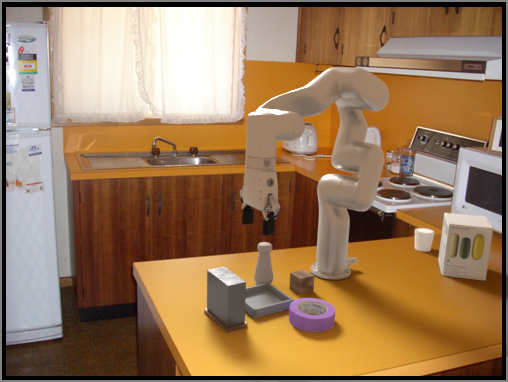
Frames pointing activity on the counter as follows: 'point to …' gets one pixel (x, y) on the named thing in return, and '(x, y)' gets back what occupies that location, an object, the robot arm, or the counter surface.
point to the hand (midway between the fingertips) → (257, 229)
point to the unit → (226, 299)
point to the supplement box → (465, 246)
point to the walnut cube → (301, 282)
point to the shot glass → (423, 239)
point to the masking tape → (311, 322)
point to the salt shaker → (264, 264)
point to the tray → (265, 300)
